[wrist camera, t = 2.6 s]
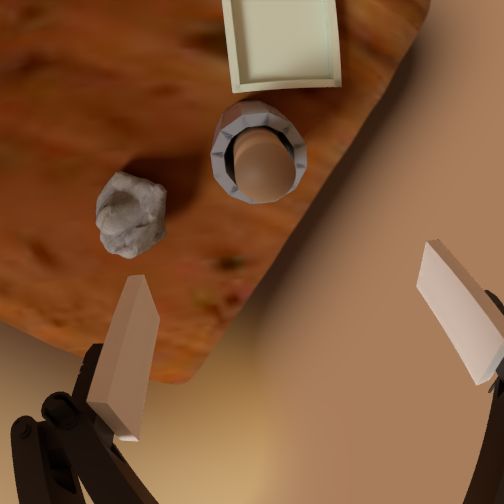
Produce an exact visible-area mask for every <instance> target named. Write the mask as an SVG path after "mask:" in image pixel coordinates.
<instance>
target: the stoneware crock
mask: <svg viewBox="0 0 504 504" xmlns="http://www.w3.org/2000/svg"><path fill="white" fill-rule="evenodd" d="M263 125H267V126H269V127H271V128H272V129H273V130H274V132H275V133H276V135H277V136H278V138H279V139H280V141H281V142H282V144H283V145H284V147H285V148H286V150H287V152H288V153H289V155H290V156H291V158H292V159H293V161H294V164H295V167H296V178H295V182H294V184H293V186H292V188H291V189H290V190H289V192H291V191H292V190H294V189H295V188H296V187H297V185H298V183H299V181H300V179H301V177H302V176H303V174H304V172H305V170H306V168H307V156H306V143H305V141H304V140H303V138H302V137H301V135H300V134H299V133H298V131H297V130H296V128H295V127H294V125H293V123H291V122H290V121H289V120H288V119H287V118H286V117H285V116H284V115H283V114H282V113H281V112H280V111H279V110H277V109H276V108H275V107H273V106H271V105H269V104H266V103H264V102H262V101H259V100H249V101H240V102H237V103H236V104H234V105H233V106H231V107H230V108H229V109H227V110H226V111H224V112H223V113H222V115H221V117H220V120H219V122H218V124H217V127H216V129H215V132H214V138H213V143H212V148H211V153H210V154H211V160H212V167H213V174H214V178H215V179H216V180H217V181H218V183H219V184H220V185H221V186H222V187H223V189H224V190H225V191H226V192H227V193H228V195H229V196H232V197H234V198H237V199H240V200H242V201H245V202H248V203H250V204H257V203H266V202H258V201H255V200H252V199H250V198H248V197H247V196H245V195H244V194H243V193H242V192H241V191H240V189H239V188H238V186H237V183H236V180H235V167H234V151H233V137H234V136H235V135H236V134H238V133H239V132H241V131H242V130H243V129H245V128H246V127H253V126H263ZM289 192H288V193H289ZM288 193H287V194H288ZM284 196H285V195H284ZM281 198H282V197H281ZM277 200H279V199H277ZM277 200H275V201H277ZM275 201H271V202H275Z"/></svg>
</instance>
